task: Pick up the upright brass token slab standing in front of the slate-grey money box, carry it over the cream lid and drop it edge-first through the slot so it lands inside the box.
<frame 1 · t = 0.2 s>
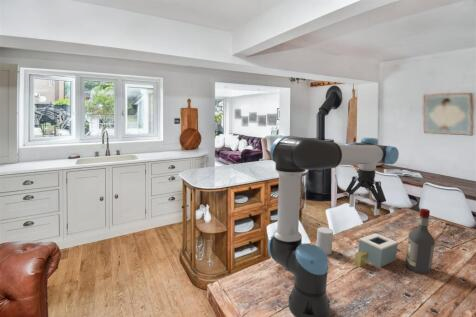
hand: (363, 210, 132), 26 cm above the table, fingers open, 13 cm apart
token: (360, 264, 131), on the table
liquor: (417, 268, 128), on the table
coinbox: (376, 258, 137), on the table
cup: (323, 251, 144), on the table
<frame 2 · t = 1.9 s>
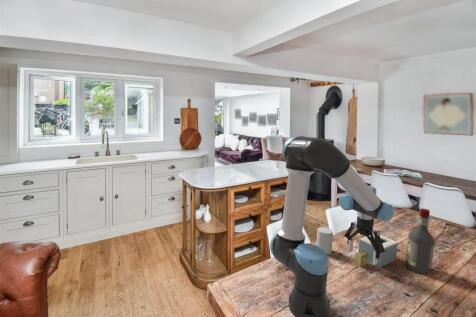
hand: (362, 257, 131), 3 cm above the table, fingers open, 13 cm apart
nothing on the table moved.
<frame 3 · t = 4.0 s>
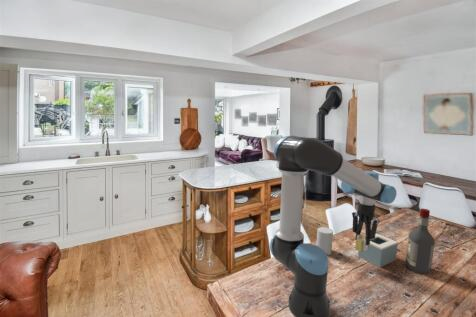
hand: (361, 248, 130), 8 cm above the table, fingers closed on token, 3 cm apart
token: (361, 249, 130), point 8 cm above the table, touching gripper
everything else where it was.
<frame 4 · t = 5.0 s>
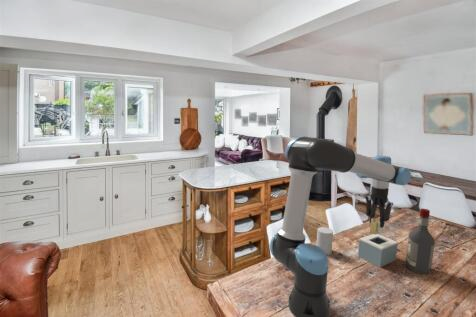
hand: (375, 231, 133), 16 cm above the table, fingers closed on token, 3 cm apart
token: (376, 232, 134), point 15 cm above the table, touching gripper
everything else where it was.
when the fingers open (11 cm above the table, at t = 6.5 s): token drops 9 cm, resting on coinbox.
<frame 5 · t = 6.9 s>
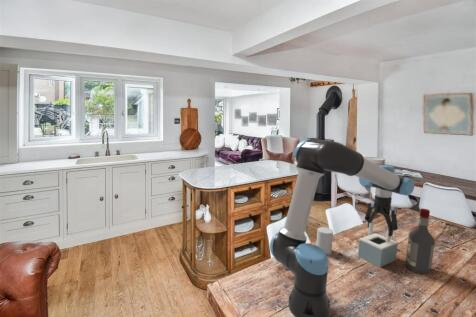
hand: (378, 237, 136), 11 cm above the table, fingers open, 9 cm apart
token: (376, 256, 137), point 1 cm above the table, touching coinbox
everything else where it was.
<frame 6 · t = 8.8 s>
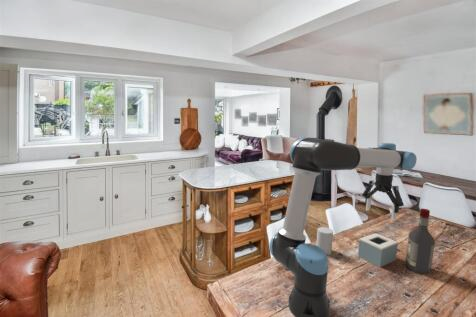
hand: (380, 214, 134), 24 cm above the table, fingers open, 13 cm apart
nothing on the table moved.
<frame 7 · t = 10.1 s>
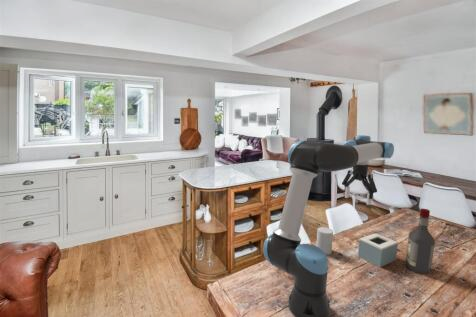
hand: (357, 200, 147), 27 cm above the table, fingers open, 13 cm apart
nothing on the table moved.
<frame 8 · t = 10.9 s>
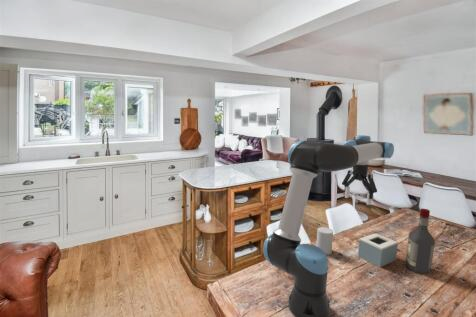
hand: (357, 200, 147), 27 cm above the table, fingers open, 13 cm apart
nothing on the table moved.
at the end: token inside the target area on the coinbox (0.3 cm from its centre), point 0.6 cm above the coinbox's base; the gripper is holding nothing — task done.
